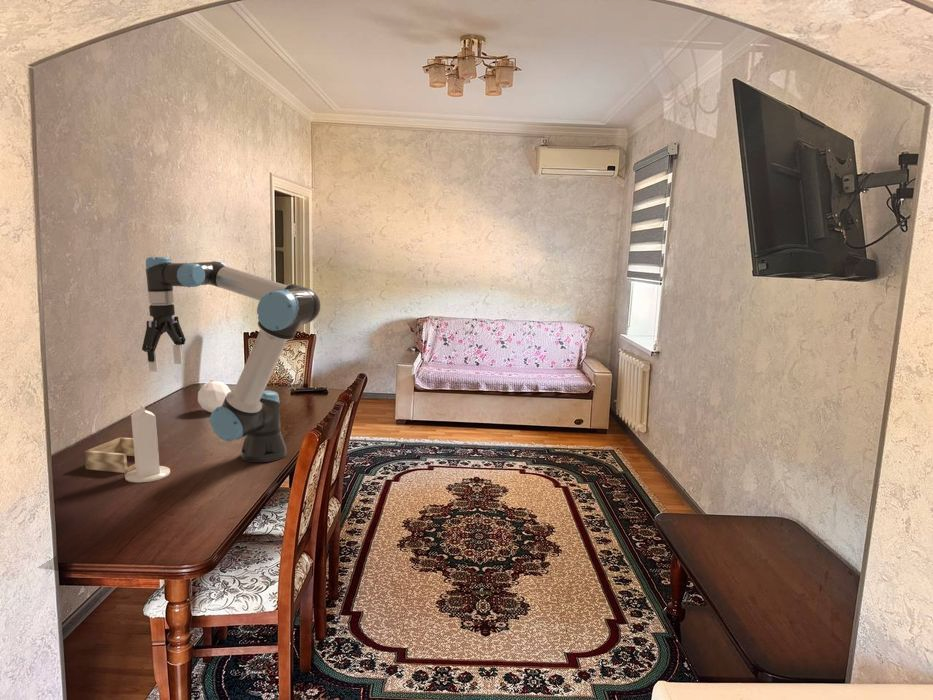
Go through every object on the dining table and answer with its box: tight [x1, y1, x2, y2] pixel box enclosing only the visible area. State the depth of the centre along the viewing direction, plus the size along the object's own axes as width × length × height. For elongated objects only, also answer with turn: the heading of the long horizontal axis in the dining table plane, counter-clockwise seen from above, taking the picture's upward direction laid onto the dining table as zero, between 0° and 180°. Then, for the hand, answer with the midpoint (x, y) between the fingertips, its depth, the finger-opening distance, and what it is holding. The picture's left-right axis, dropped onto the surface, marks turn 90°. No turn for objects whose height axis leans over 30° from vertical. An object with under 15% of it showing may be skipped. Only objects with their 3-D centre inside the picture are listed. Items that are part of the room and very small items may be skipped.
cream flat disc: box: [124, 465, 171, 484], centre depth 208 cm, size 13×13×1 cm
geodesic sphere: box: [197, 379, 232, 413], centre depth 283 cm, size 15×14×14 cm
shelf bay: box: [83, 436, 136, 474], centre depth 219 cm, size 15×16×6 cm
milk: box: [130, 404, 160, 477], centre depth 206 cm, size 6×6×22 cm
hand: (166, 367), depth 219 cm, fingers open, 13 cm apart
